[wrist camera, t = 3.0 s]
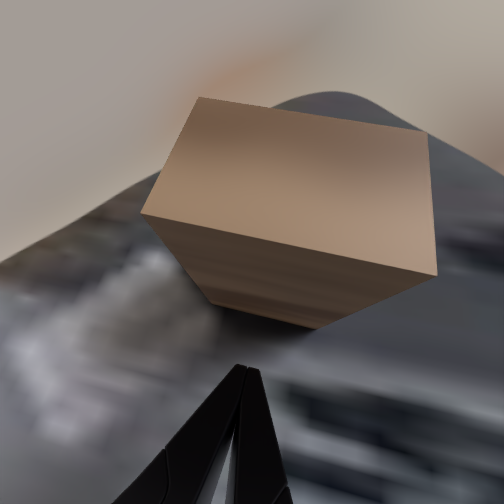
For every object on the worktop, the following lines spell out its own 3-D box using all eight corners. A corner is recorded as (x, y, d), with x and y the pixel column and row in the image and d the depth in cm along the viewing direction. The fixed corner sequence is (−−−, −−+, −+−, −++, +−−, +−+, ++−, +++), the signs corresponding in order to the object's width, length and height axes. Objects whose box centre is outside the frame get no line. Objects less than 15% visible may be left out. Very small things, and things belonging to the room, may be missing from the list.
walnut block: (316, 329, 15) (437, 275, 5) (211, 303, 16) (140, 213, 6) (325, 261, 17) (426, 125, 7) (230, 241, 18) (201, 90, 8)
